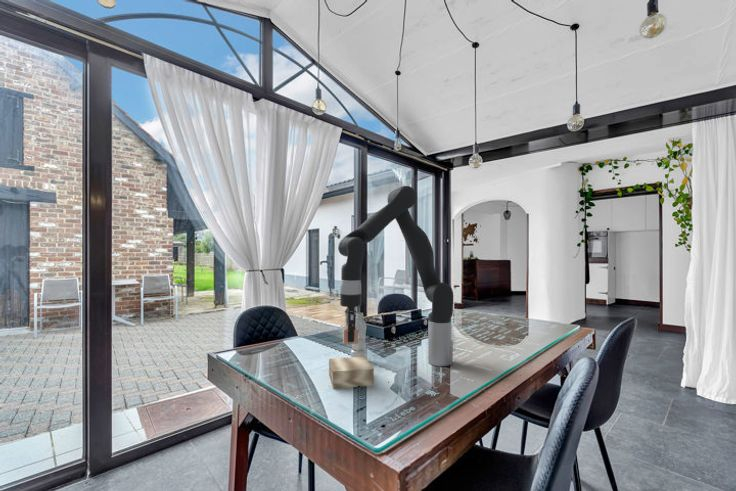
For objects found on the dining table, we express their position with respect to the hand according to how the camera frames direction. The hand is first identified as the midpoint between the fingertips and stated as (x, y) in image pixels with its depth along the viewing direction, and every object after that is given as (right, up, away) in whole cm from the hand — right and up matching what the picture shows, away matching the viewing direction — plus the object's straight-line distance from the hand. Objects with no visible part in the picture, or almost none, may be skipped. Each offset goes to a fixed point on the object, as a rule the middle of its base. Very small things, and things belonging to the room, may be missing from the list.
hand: (350, 339), depth 123 cm
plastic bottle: (+2, -15, +20) cm, 25 cm away
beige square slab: (0, -15, 0) cm, 15 cm away
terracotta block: (0, -1, 0) cm, 1 cm away
